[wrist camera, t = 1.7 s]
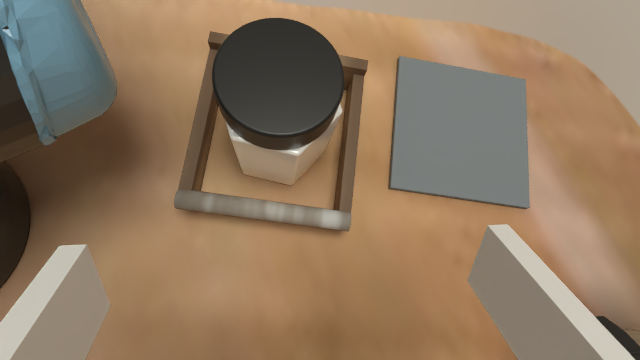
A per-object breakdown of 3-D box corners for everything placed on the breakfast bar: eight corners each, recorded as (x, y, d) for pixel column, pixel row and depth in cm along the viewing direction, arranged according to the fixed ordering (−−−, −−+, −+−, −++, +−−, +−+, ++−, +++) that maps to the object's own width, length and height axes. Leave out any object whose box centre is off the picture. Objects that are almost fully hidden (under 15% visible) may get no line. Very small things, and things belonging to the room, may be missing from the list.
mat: (388, 188, 33) (390, 187, 32) (397, 59, 36) (399, 56, 36) (525, 208, 34) (529, 207, 34) (521, 82, 38) (525, 79, 37)
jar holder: (183, 212, 30) (170, 205, 26) (217, 57, 34) (210, 31, 30) (342, 233, 31) (351, 229, 27) (357, 82, 35) (367, 60, 31)
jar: (279, 82, 34) (281, -11, 22) (340, 138, 33) (375, 71, 22) (210, 143, 32) (174, 75, 20) (275, 204, 31) (276, 170, 20)
